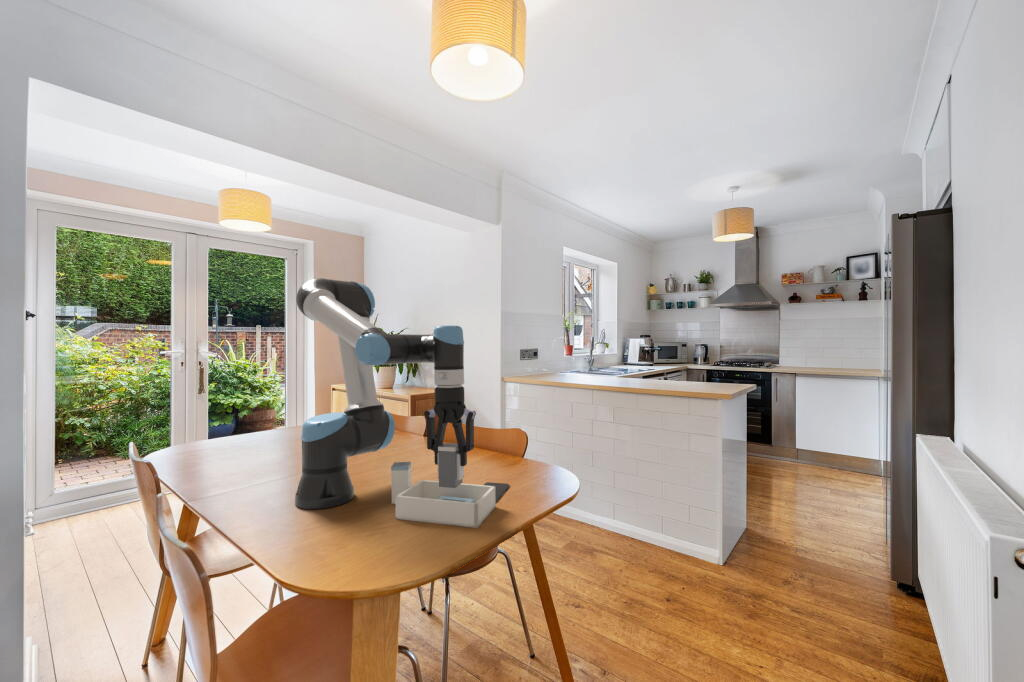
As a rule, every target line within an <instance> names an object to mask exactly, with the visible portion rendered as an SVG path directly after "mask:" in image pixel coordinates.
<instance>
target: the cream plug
mask: <svg viewBox="0 0 1024 682" xmlns="http://www.w3.org/2000/svg"><path fill="white" fill-rule="evenodd" d="M390 469H391V470H390V471H391V474H390V475H391V478H390V479H391V504H395V496H397V495H398V494H400V493H402V492H403V491H405V490H406V489H408V488H410V487H411V486H412V461H397V462H396V461H395V462H393V464H391V467H390Z"/></svg>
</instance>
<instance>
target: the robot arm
mask: <svg viewBox="0 0 1024 682" xmlns="http://www.w3.org/2000/svg"><path fill="white" fill-rule="evenodd" d="M295 299H296V306H297V308H298V309H299V311H300V312H301V314H302V315H304V316H305V317H306V318H308V319H309V320H311V321H313V322H319V323H320V324H322V325H324V326H325V327H326V329H327V328H328V329H329V330H330V331H332V332H333V333H334V334H335V335H337V337H338V344H339V345H338V346H339V352H340V358H341V359H340V360H341V363H342V364H341V365H342V370H343V378H344V385H345V392H346V398H347V407H346V408H345V409H344V411H343V412H341V411H340V412H338V411H337V412H330V413H328V412H327V413H323V414H319V415H315V416H312V417H309V418H308V419H306V420H305V421H304V422H303V424H302V426H301V427H302V428H301V437H300V440H301V466H302V467H301V476H300V479H299V483H298V485H297V490H296V492H295V496H294V504H295V506H296V507H297V508H300V509H303V510H304V509H305V510H320V509H321V510H322V509H327V508H328V509H329V508H334V507H338V506H341V505H344V504H347V503H348V502H350V501H351V500H353V498H354V497H355V488H354V485H353V483H352V479H351V476H350V474H349V470H348V458H349V457H353V456H358V455H364V454H367V453H373V452H377V451H379V450H383V449H385V448H387V447H388V446H389V445H390V444H391V442H392V440H393V439H394V436H395V431H396V425H395V424H396V422H395V419H394V416H393V415H392V414H391V412H390V411H387V410H385V406H384V403H383V402H380V401H379V400H378V396H377V390H376V389H377V388H376V382H375V377H374V369H373V366H376V367H377V366H381V365H382V366H383V365H401V364H425V363H433V365H434V367H433V369H434V373H433V375H434V379H433V380H434V385H435V386H436V387H435V388H434V406H433V408H432V409H428V410H425V411H424V412H423V415H424V417H425V421H426V448H427V450H431V451H433V452H434V453H433V454H434V465H437V479H438V480H439V460H438V446H440V445H442V444H444V440H445V435H446V430H447V425H448V424H451V425H452V428H453V430H454V435H455V438H456V443H457V444H458V448H459V452H458V453H457V480H461V479H462V480H463V478H464V477H465V475H464V474H465V469H464V468H465V466H467V463H468V458H467V457H468V452H471V451H472V450H474V448H475V426H474V425H475V418H476V415H477V412H476V411H475V410H470V409H469V408H468V409H467V407H466V404H465V387H464V386H463V385H464V384H465V369H464V365H465V364H464V363H465V361H464V360H465V359H464V357H465V356H464V352H465V351H464V350H465V349H464V345H465V340H464V332H463V331H464V330H463V328H462V327H461V326H460V325H435V326H434V328H433V332H432V334H400V333H398V334H397V333H396V334H395V333H394V334H393V333H387V332H386V331H384V330H382V329H380V328H379V327H377V326H376V325H375V324H373V323H371V322H370V320H371V319H370V318H371V317H372V316H373V314H374V312H375V307H376V300H375V296H374V293H373V292H372V290H371V289H370V287H368V286H367V285H366V284H365V283H361V282H356V281H346V280H345V281H344V280H340V279H339V280H338V279H329V278H323V277H322V278H314V279H309V280H308V281H306V282H305V283H303V284H302V285H301V286H300V287H299V288H298V290H297V293H296V298H295ZM436 416H437V418H438V421H437V431H436V420H435V419H436ZM463 416H464V418H465V433H464V428H463V421H462V418H463Z"/></svg>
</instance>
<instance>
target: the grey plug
mask: <svg viewBox="0 0 1024 682" xmlns="http://www.w3.org/2000/svg"><path fill="white" fill-rule="evenodd" d="M458 452H459V448H458V444H457V442H455V443H454V442H445V443H444V442H443V444H442V445H440V446H438V460H439V479H438V481H439V487H449V488H456V487H458V486H459V485H460V484H461V483H463V481H464V480H463V478H462V479H461V480H457V453H458ZM463 484H464V483H463Z"/></svg>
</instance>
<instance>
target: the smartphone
mask: <svg viewBox="0 0 1024 682" xmlns="http://www.w3.org/2000/svg"><path fill="white" fill-rule="evenodd" d="M483 485H486V486H495V497H496V504H497V503H498V502H499V500H500V499H501V498H502V496H504V494H505V493H506V492H507V490H508V489H509V488H510V484H509V483H505V482H504V483H502V482H485V483H484V484H483Z"/></svg>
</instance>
